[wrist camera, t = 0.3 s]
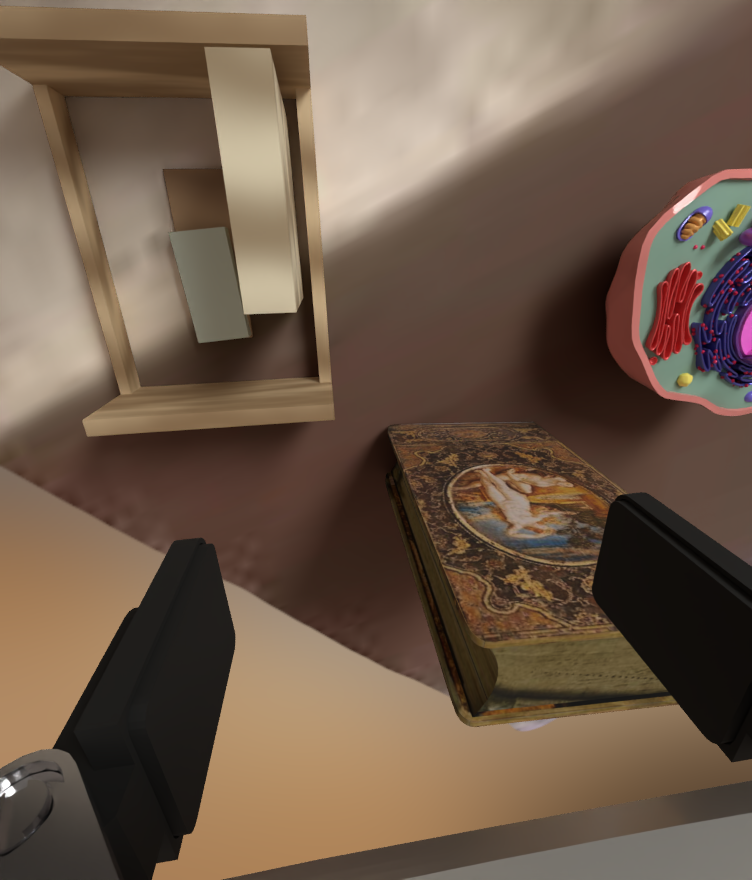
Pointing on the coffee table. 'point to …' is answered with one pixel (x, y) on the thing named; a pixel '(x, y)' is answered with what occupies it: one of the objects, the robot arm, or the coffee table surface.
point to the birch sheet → (257, 177)
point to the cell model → (690, 297)
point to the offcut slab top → (211, 283)
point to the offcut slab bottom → (199, 202)
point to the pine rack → (92, 75)
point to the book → (513, 572)
